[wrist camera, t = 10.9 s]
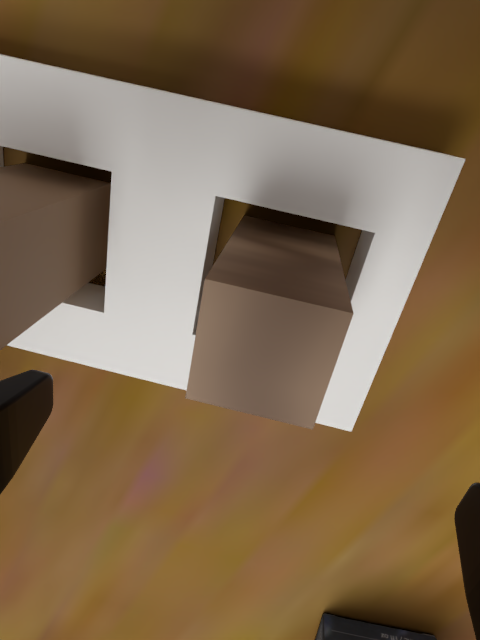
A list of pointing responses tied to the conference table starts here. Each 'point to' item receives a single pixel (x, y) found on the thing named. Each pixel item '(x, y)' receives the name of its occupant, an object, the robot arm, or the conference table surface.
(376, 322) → the white block with holes
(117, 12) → the conference table surface
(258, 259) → the beige rectangular block
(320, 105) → the conference table surface
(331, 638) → the box
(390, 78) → the conference table surface
